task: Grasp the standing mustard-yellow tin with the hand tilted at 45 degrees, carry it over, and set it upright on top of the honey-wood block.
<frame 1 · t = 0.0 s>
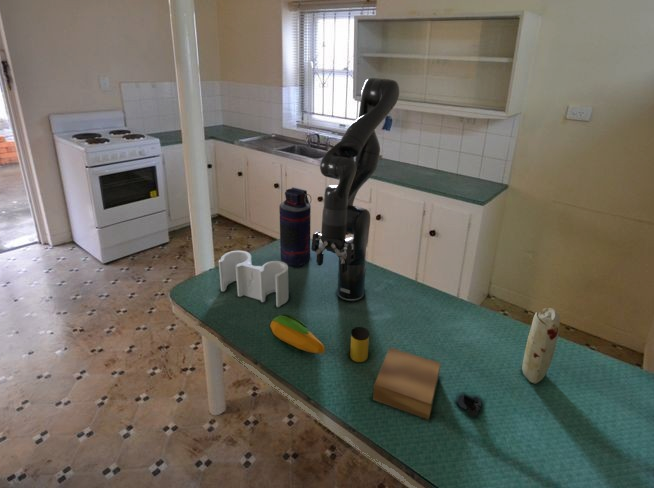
hand: (331, 268, 126), 17 cm above the table, tool pointing down, fingers open, 8 cm apart
bracket: (256, 292, 142), on the table
tin: (358, 355, 115), on the table
food model: (533, 374, 110), on the table
wood block: (406, 388, 105), on the table
navy water bottle: (296, 259, 164), on the table
block figure: (469, 405, 100), on the table
corn: (298, 345, 118), on the table
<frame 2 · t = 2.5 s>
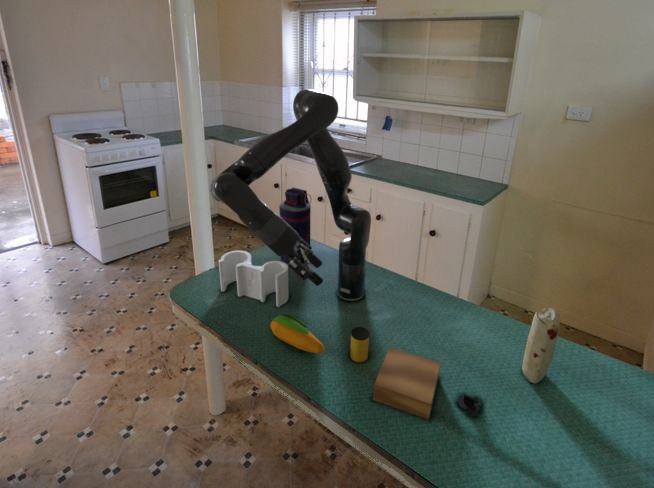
hand: (320, 274, 105), 27 cm above the table, tool tilted 45°, fingers open, 8 cm apart
nothing on the table moved.
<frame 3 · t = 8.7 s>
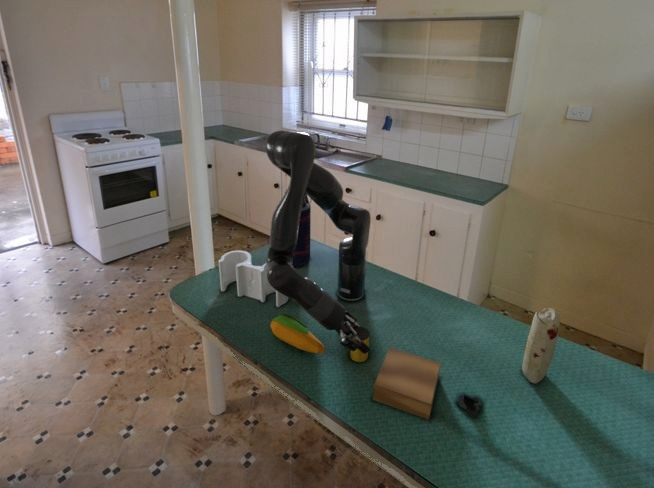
hand: (366, 343, 114), 4 cm above the table, tool tilted 45°, fingers closed on tin, 5 cm apart
tin: (358, 355, 115), on the table, touching gripper
everything else where it was.
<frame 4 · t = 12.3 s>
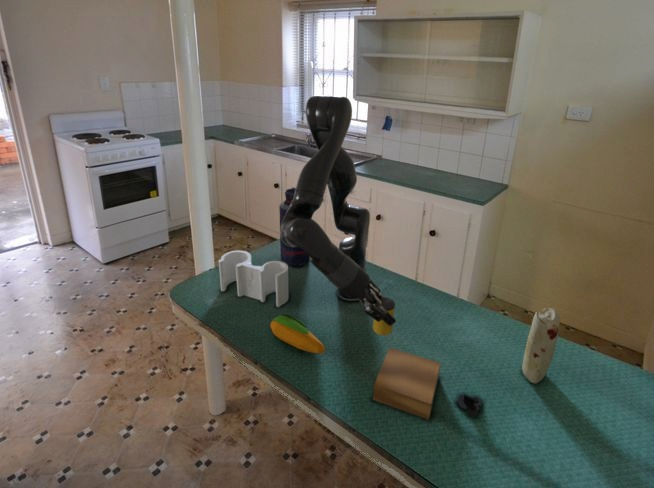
hand: (390, 315, 104), 18 cm above the table, tool tilted 45°, fingers closed on tin, 5 cm apart
tin: (382, 328, 105), point 14 cm above the table, touching gripper
everything else where it was.
when the fingers open (9 cm above the table, at t = 16.4 s): tin stays where it is, resting on wood block.
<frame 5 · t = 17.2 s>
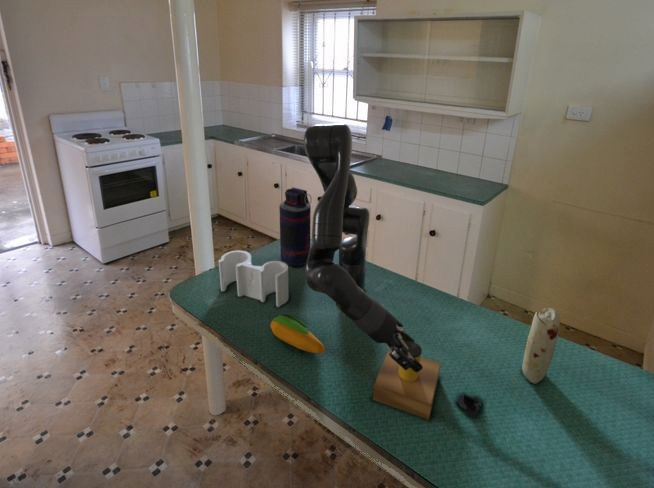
hand: (415, 356, 101), 10 cm above the table, tool tilted 45°, fingers open, 8 cm apart
tin: (408, 373, 103), point 5 cm above the table, touching wood block
everything else where it was.
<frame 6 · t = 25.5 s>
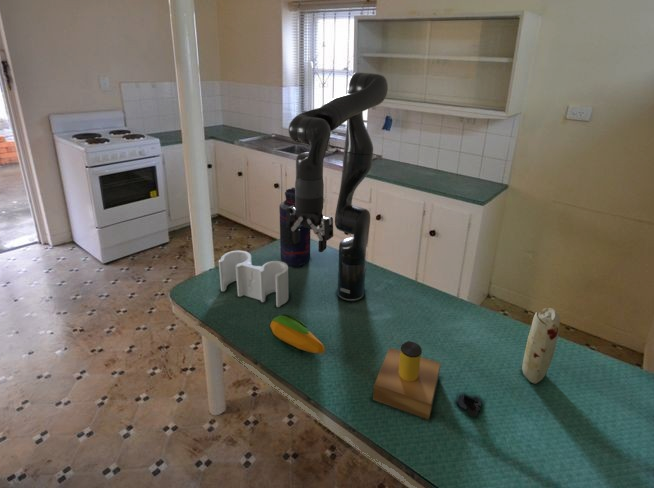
hand: (309, 246, 112), 30 cm above the table, tool pointing down, fingers open, 8 cm apart
nothing on the table moved.
at the end: tin inside the target area on the wood block (0.1 cm from its centre), point 5.0 cm above the wood block's base; tin tilted 0°; the gripper is holding nothing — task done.
